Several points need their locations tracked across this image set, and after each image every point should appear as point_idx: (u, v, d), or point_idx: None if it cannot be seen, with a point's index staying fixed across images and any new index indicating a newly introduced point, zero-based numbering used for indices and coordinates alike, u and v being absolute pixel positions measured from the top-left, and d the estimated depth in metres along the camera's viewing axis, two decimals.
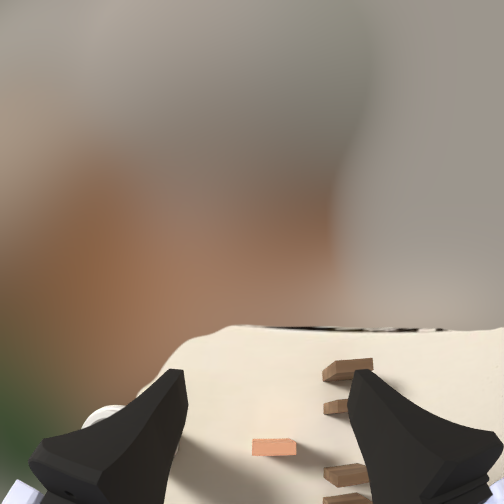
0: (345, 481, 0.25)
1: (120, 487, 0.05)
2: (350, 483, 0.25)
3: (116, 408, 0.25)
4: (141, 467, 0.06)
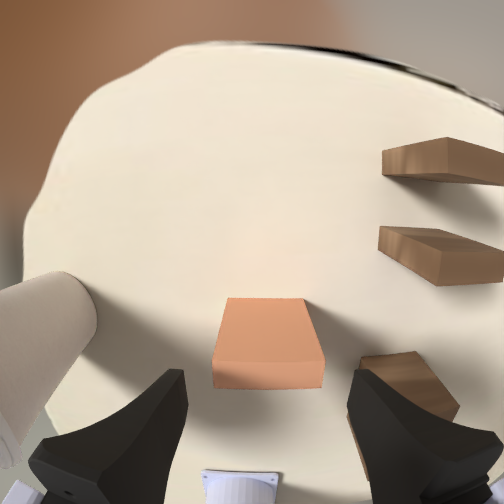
0: None
1: (120, 487, 0.05)
2: None
3: None
4: (141, 467, 0.06)
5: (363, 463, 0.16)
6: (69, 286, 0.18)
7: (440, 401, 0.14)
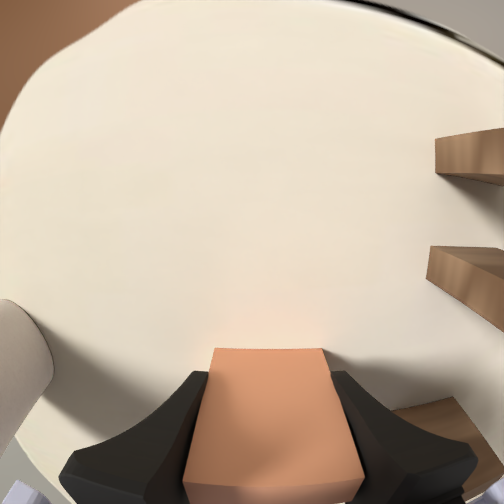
0: None
1: (161, 496, 0.05)
2: None
3: None
4: (176, 473, 0.06)
5: None
6: (12, 322, 0.12)
7: (485, 467, 0.08)
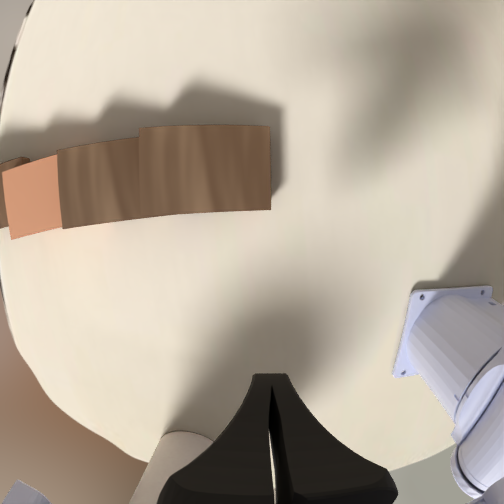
0: None
1: None
2: None
3: None
4: None
5: None
6: (158, 445, 0.23)
7: None
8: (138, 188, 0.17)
